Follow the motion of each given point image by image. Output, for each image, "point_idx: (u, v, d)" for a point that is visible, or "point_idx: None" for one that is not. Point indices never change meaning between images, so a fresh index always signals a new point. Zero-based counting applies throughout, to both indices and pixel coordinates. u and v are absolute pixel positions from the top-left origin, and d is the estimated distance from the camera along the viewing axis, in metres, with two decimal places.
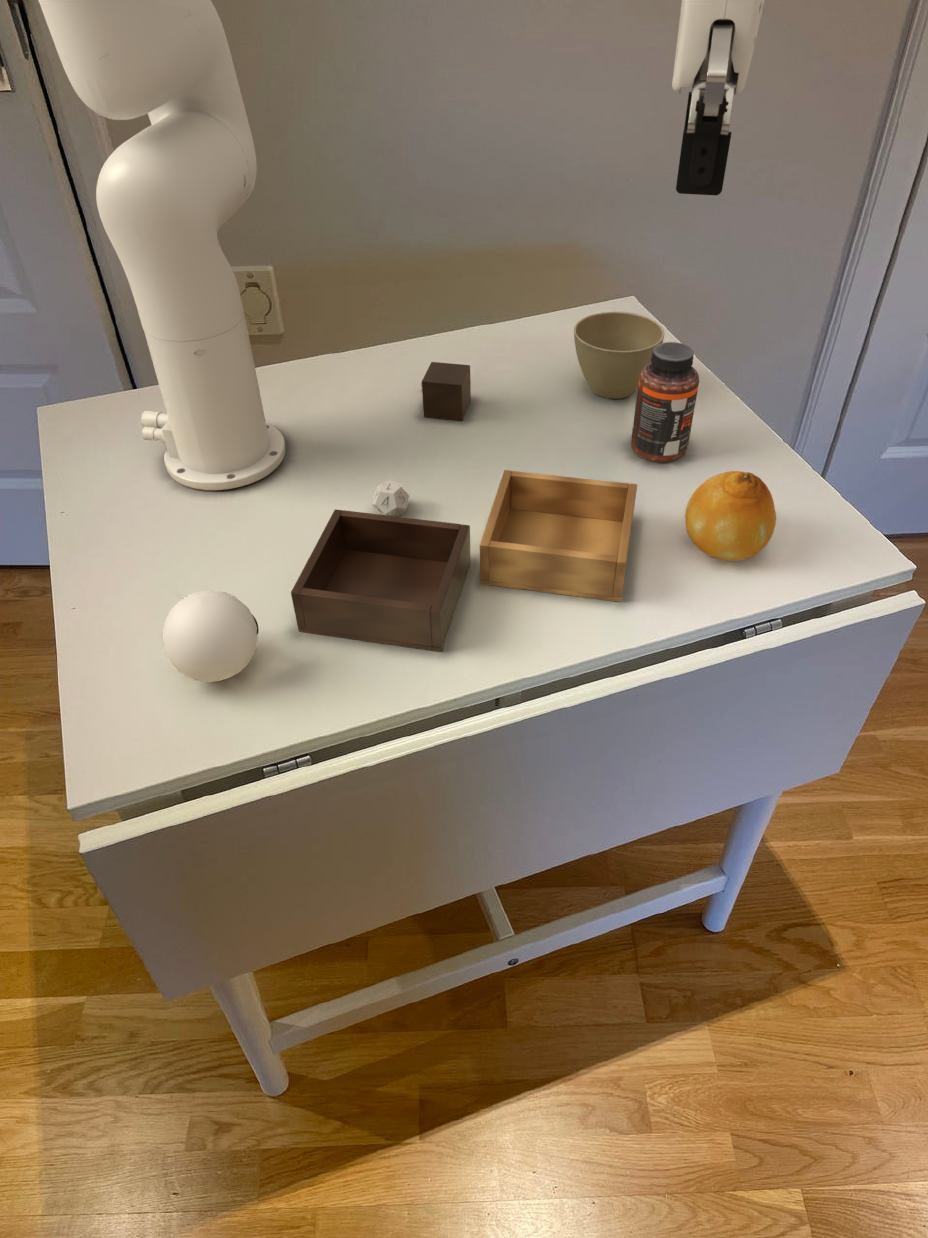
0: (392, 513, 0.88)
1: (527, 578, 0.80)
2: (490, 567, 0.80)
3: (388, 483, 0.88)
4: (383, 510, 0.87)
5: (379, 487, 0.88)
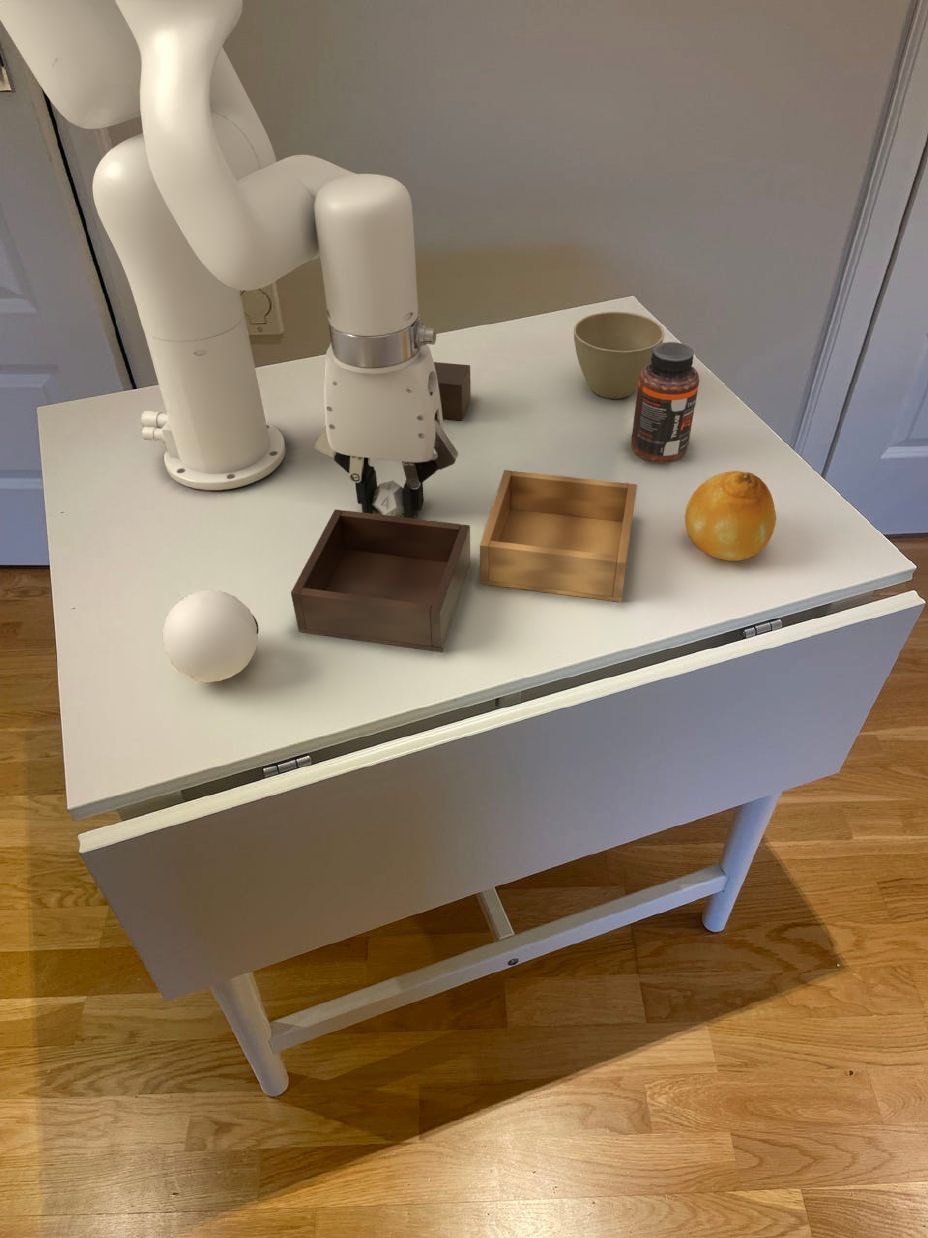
0: (392, 513, 0.88)
1: (527, 578, 0.80)
2: (490, 567, 0.80)
3: (388, 483, 0.88)
4: (383, 510, 0.87)
5: (379, 487, 0.88)
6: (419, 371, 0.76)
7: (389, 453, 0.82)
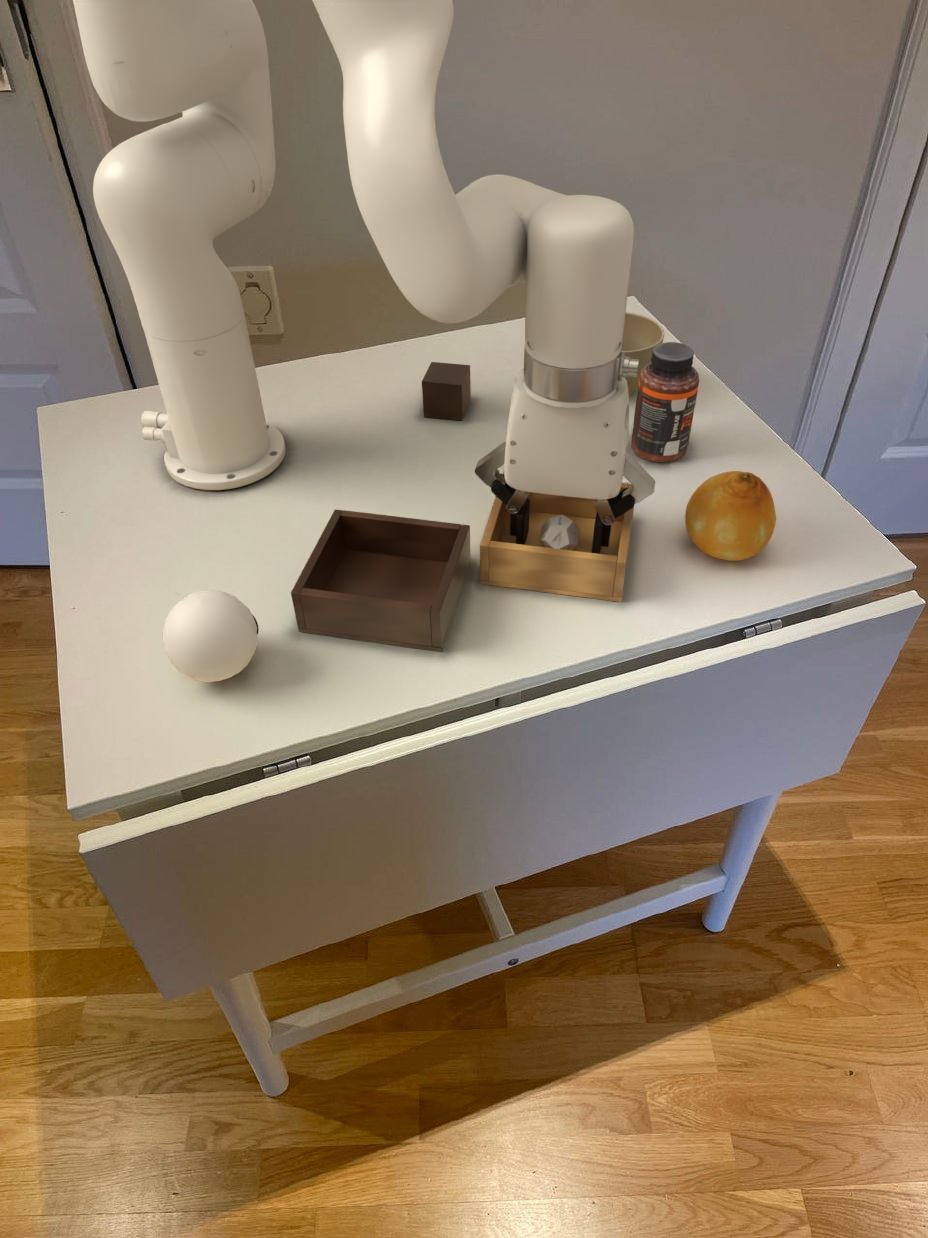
0: None
1: (527, 578, 0.80)
2: (490, 567, 0.80)
3: (558, 518, 0.83)
4: (554, 546, 0.82)
5: (549, 522, 0.82)
6: (619, 405, 0.71)
7: (572, 490, 0.77)
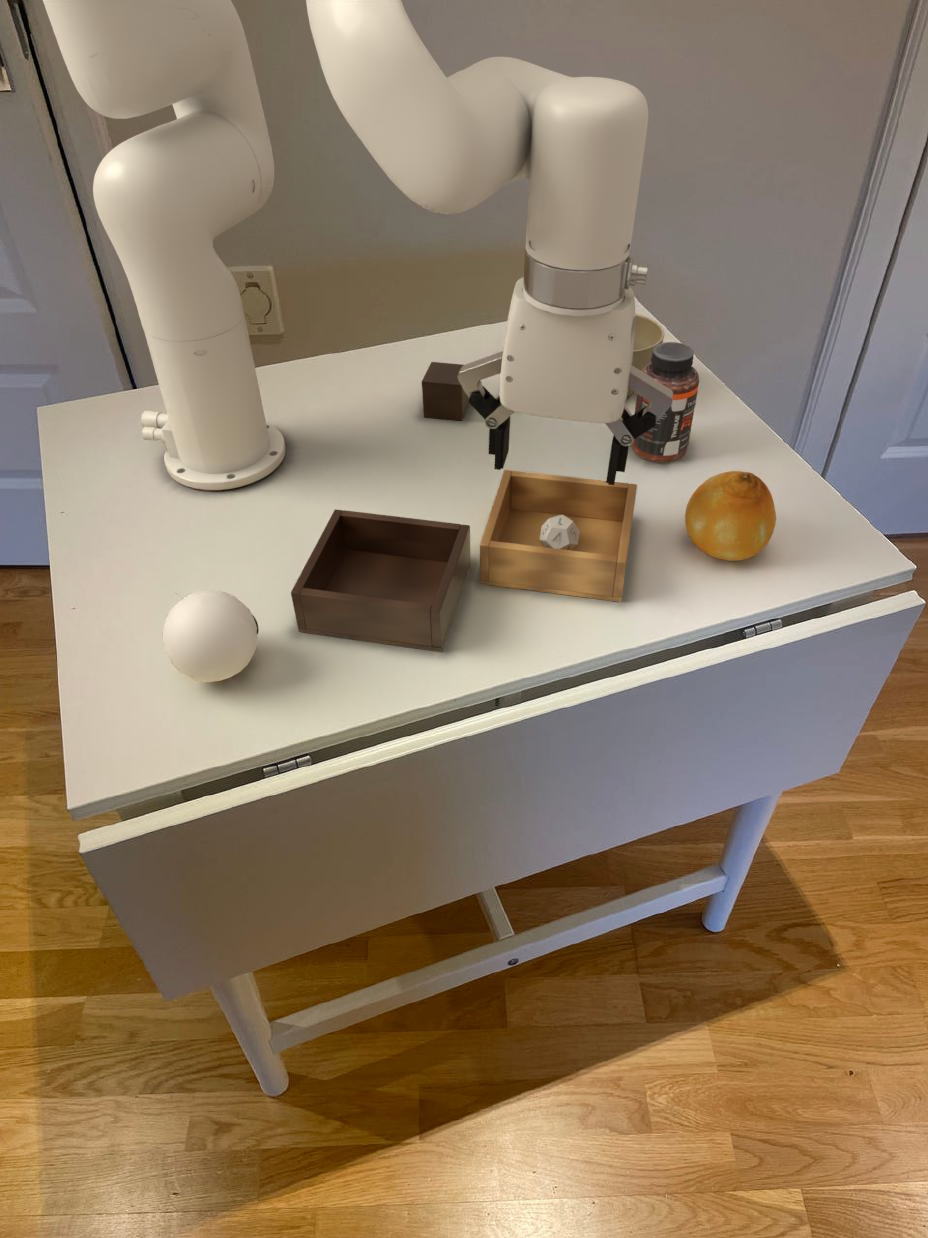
0: None
1: (527, 578, 0.80)
2: (490, 567, 0.80)
3: (558, 518, 0.83)
4: (554, 546, 0.82)
5: (549, 522, 0.82)
6: (626, 315, 0.66)
7: (572, 411, 0.72)
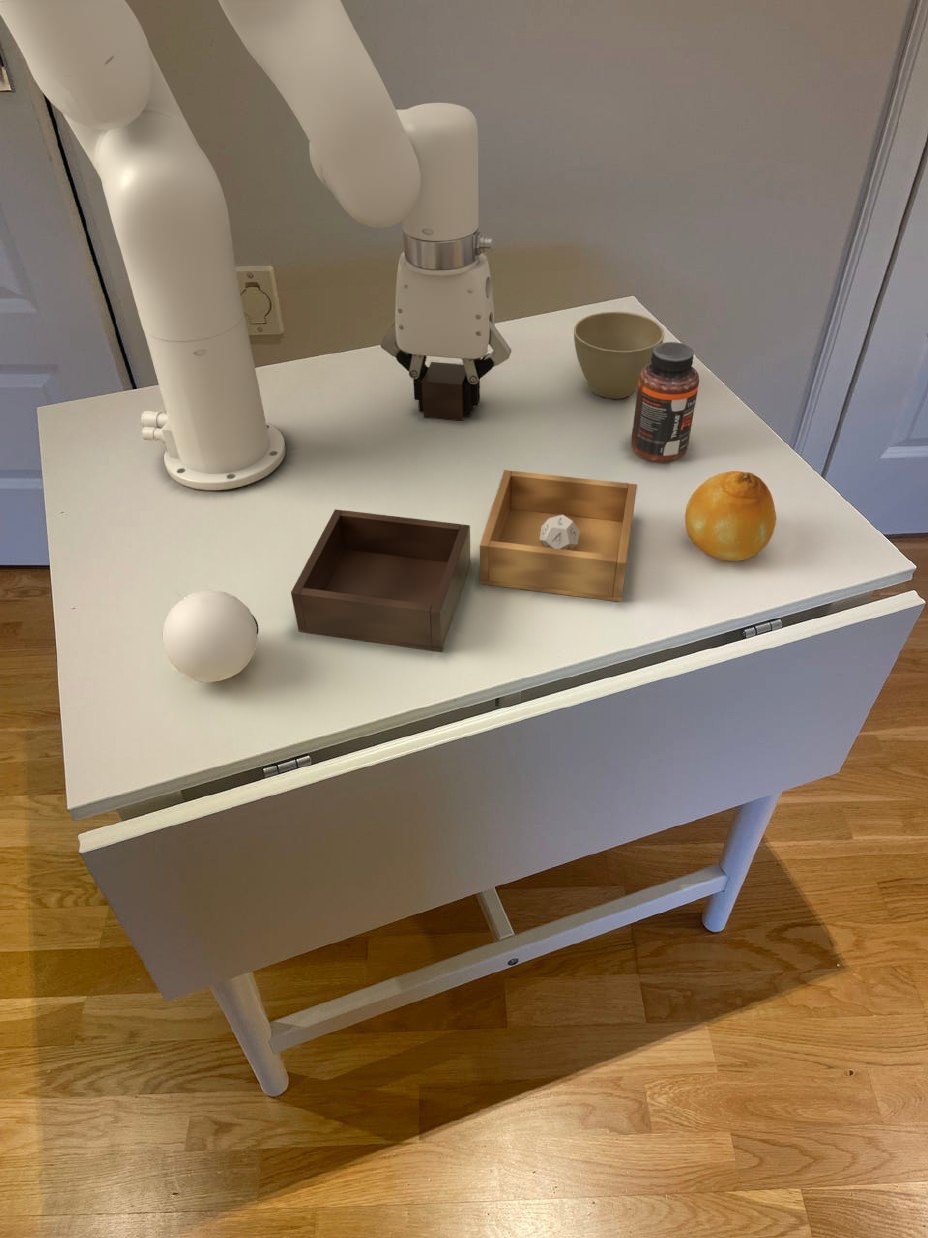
0: None
1: (527, 578, 0.80)
2: (490, 567, 0.80)
3: (558, 518, 0.83)
4: (554, 546, 0.82)
5: (549, 522, 0.82)
6: (479, 274, 0.90)
7: (449, 350, 0.96)
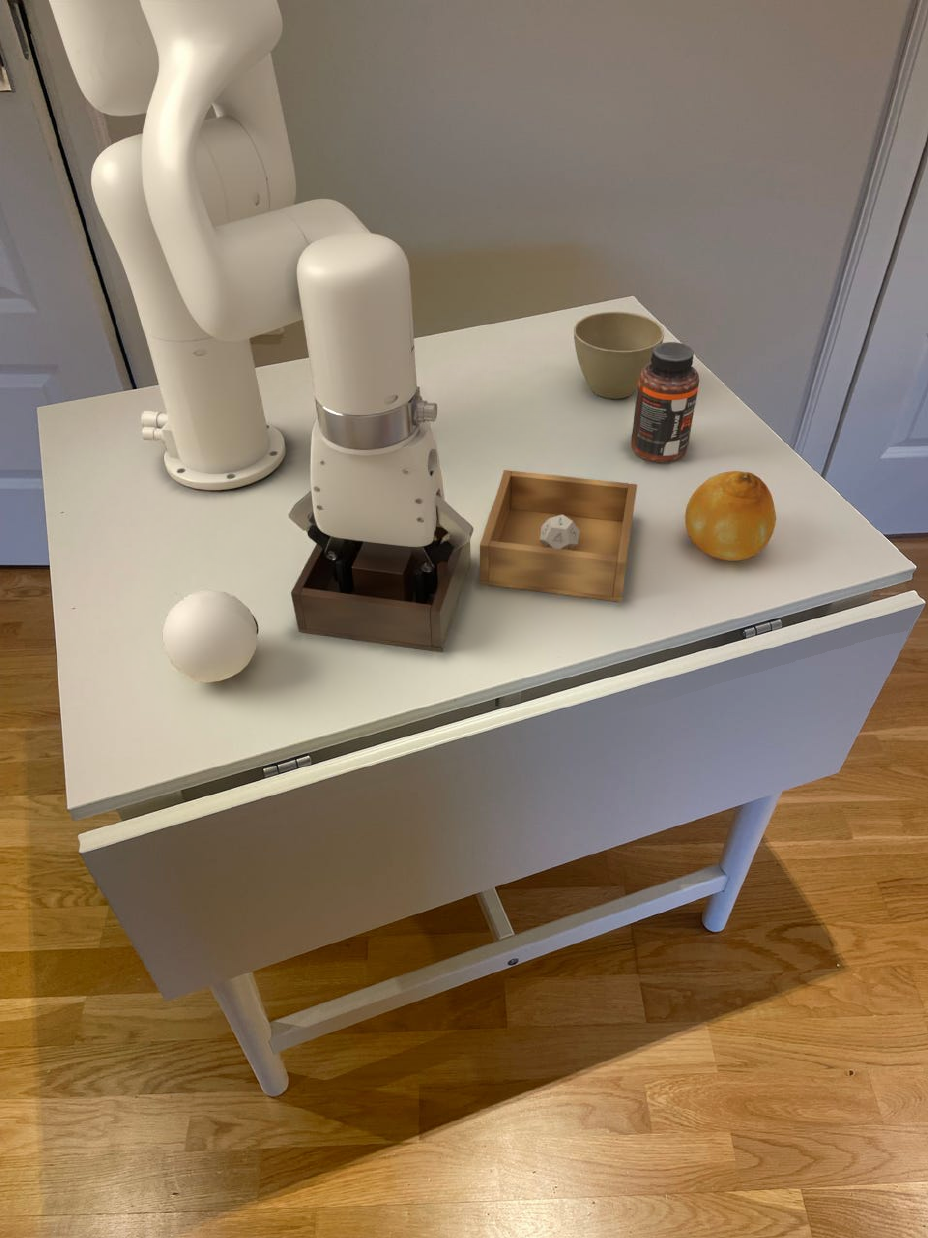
0: None
1: (527, 578, 0.80)
2: (490, 567, 0.80)
3: (558, 518, 0.83)
4: (554, 546, 0.82)
5: (549, 522, 0.82)
6: (418, 451, 0.67)
7: (384, 537, 0.73)
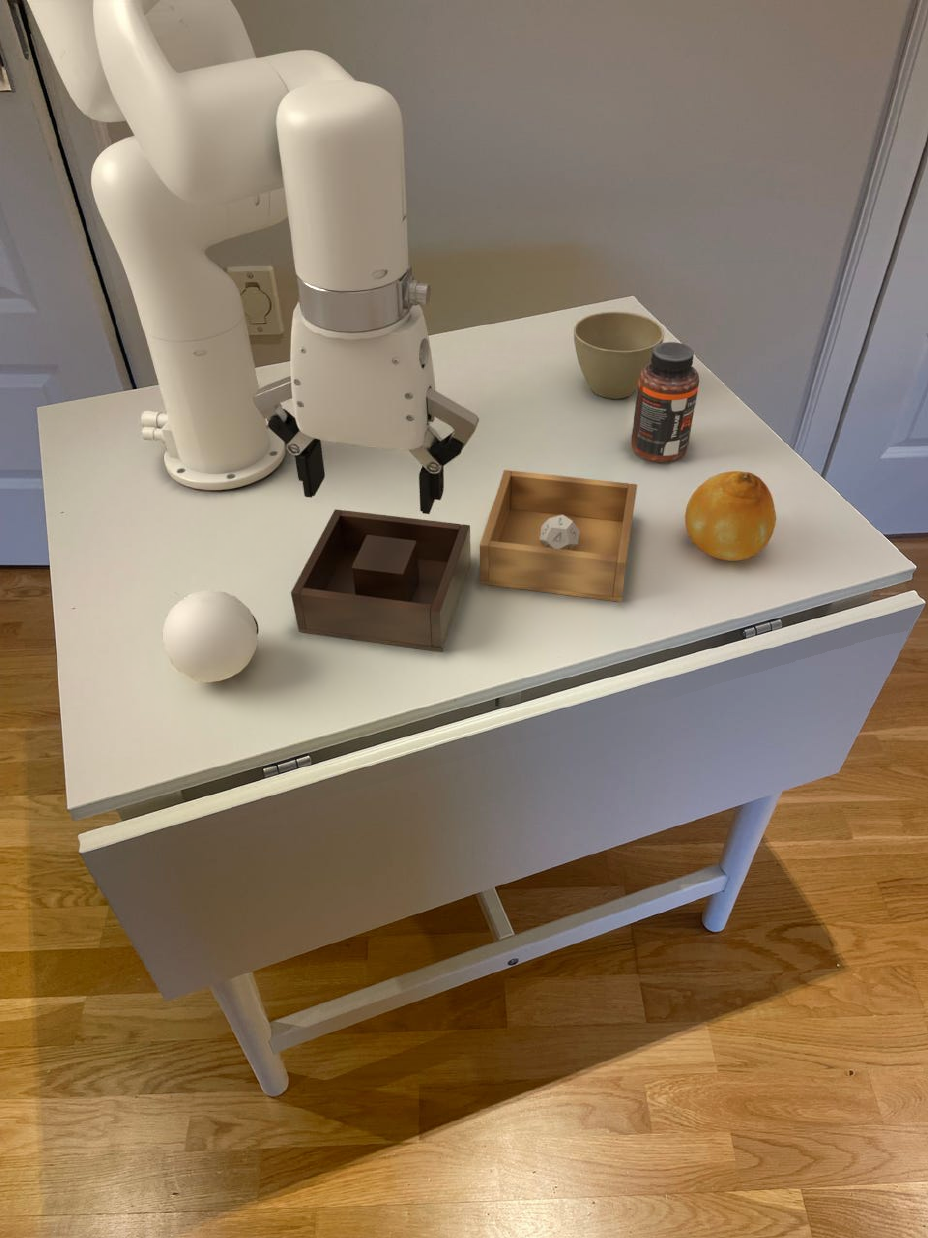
0: None
1: (527, 578, 0.80)
2: (490, 567, 0.80)
3: (558, 518, 0.83)
4: (554, 546, 0.82)
5: (549, 522, 0.82)
6: (408, 338, 0.61)
7: (370, 438, 0.67)
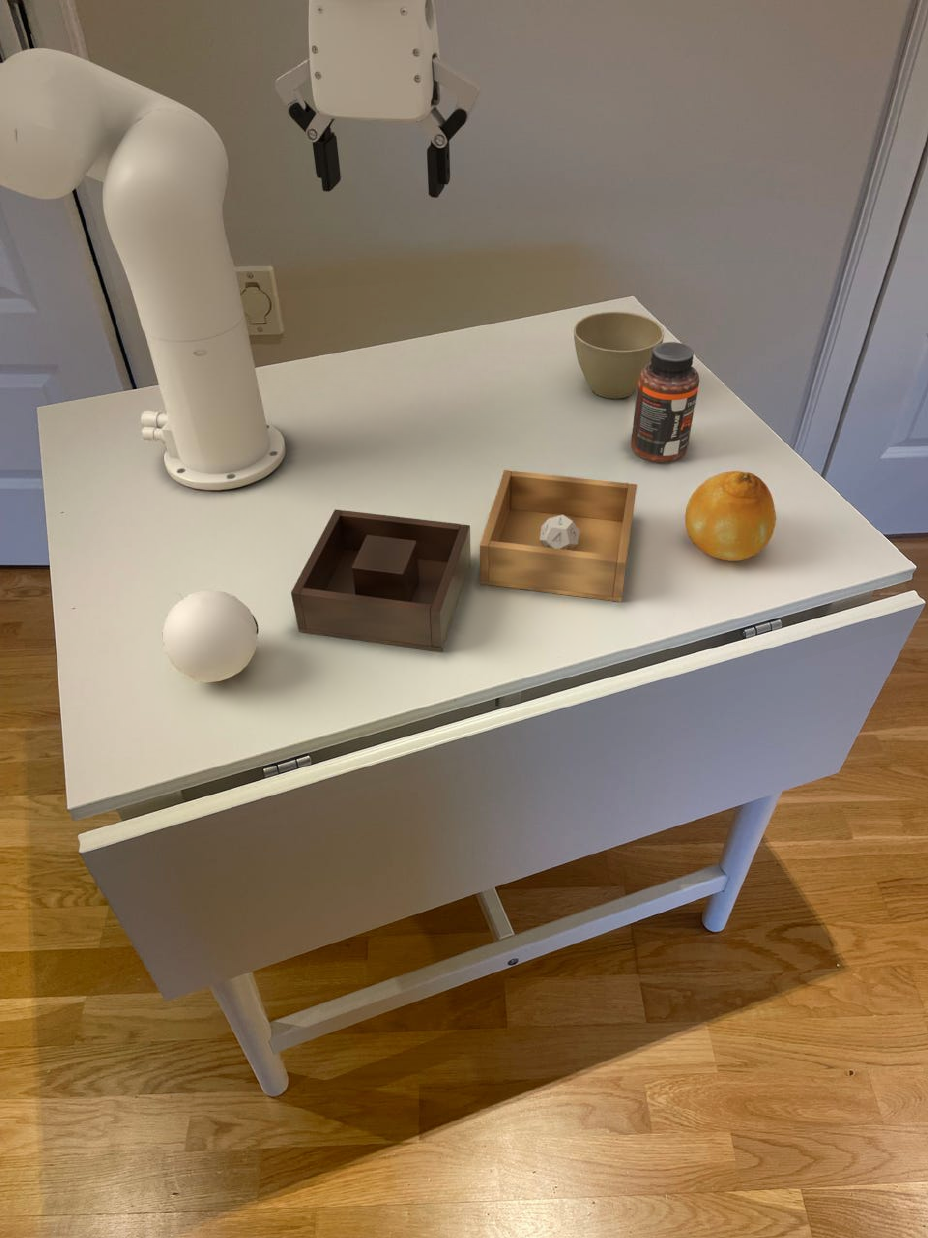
0: None
1: (527, 578, 0.80)
2: (490, 567, 0.80)
3: (558, 518, 0.83)
4: (554, 546, 0.82)
5: (549, 522, 0.82)
6: None
7: (382, 108, 0.74)
